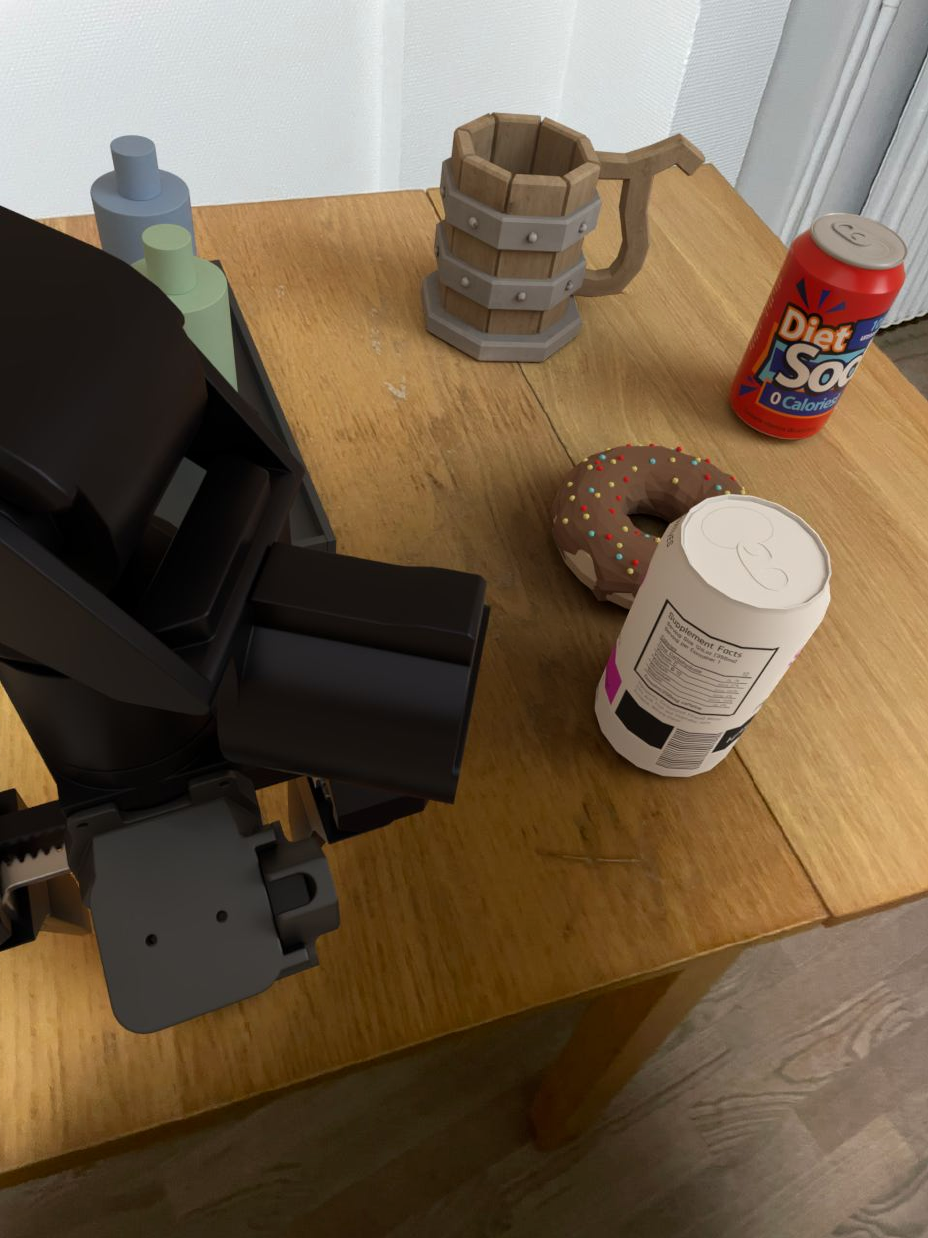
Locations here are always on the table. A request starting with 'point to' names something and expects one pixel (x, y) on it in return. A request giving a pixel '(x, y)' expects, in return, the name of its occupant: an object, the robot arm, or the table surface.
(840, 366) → the soda can
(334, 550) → the tray
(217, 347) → the sage bottle
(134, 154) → the blue bottle
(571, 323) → the tankard
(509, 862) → the table surface
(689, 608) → the supplement can
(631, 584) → the donut
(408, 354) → the table surface
